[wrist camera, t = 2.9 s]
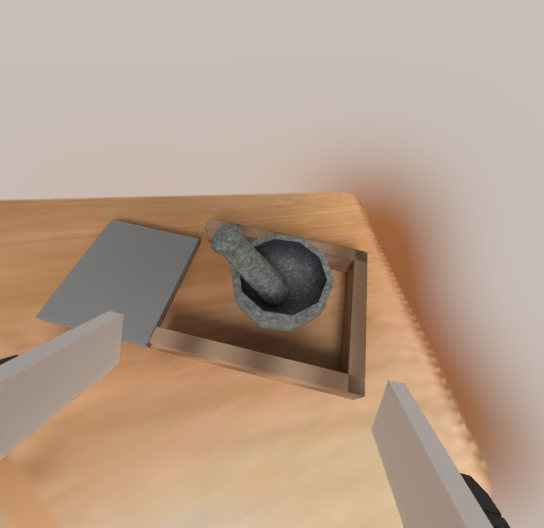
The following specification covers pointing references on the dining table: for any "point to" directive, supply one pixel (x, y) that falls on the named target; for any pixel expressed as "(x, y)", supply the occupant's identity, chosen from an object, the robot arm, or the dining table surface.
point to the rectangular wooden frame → (282, 369)
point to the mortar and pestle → (276, 277)
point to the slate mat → (124, 280)
